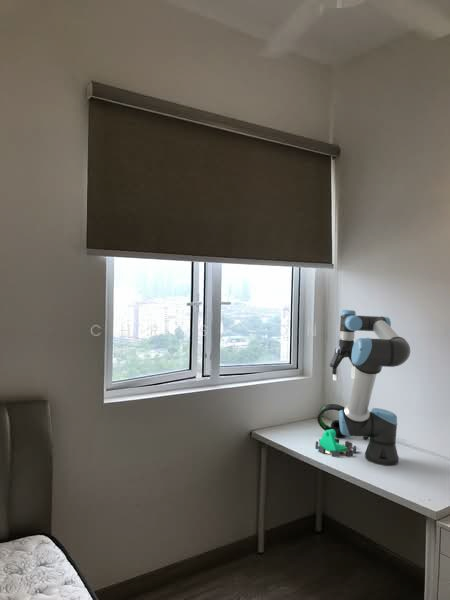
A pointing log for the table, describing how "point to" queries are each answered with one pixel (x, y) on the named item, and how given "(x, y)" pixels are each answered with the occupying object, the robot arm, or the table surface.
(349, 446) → the ring collar
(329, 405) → the headset
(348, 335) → the robot arm
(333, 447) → the camera mount
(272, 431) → the table surface
